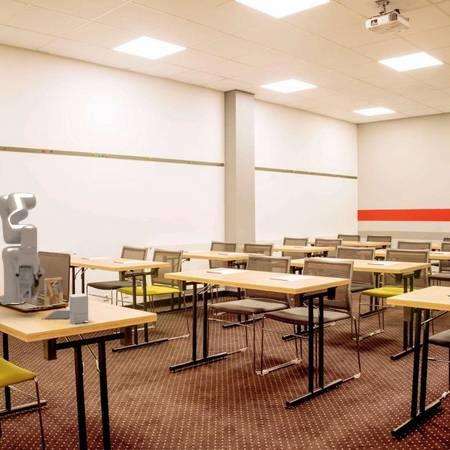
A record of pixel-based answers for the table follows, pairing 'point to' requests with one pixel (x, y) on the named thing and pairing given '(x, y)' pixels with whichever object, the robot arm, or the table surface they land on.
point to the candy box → (53, 291)
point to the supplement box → (78, 308)
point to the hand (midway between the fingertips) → (29, 286)
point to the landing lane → (58, 315)
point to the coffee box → (27, 283)
